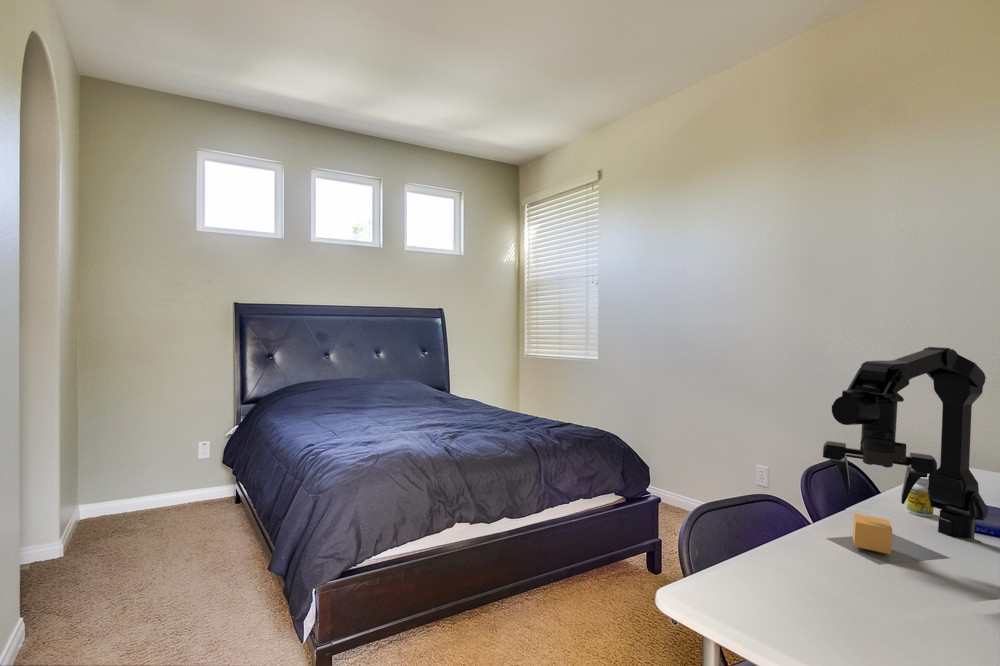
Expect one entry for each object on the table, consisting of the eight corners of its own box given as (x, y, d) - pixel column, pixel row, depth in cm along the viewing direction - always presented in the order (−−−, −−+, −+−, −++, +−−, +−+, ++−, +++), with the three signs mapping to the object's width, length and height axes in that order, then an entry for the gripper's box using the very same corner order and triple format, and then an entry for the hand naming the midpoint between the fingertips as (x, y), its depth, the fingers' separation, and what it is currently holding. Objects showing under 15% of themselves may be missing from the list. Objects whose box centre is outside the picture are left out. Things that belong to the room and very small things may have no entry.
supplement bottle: (936, 515, 135) (938, 478, 134) (927, 518, 132) (930, 480, 132) (911, 508, 139) (913, 472, 139) (902, 511, 136) (904, 474, 136)
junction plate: (891, 540, 117) (892, 533, 117) (949, 565, 105) (949, 557, 105) (825, 545, 112) (825, 538, 112) (878, 571, 101) (878, 564, 101)
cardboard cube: (852, 536, 112) (853, 513, 112) (887, 543, 109) (888, 519, 109) (854, 546, 107) (855, 522, 107) (890, 554, 104) (892, 529, 103)
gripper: (823, 422, 107) (819, 498, 107) (942, 436, 96) (937, 521, 96) (826, 415, 116) (822, 485, 116) (935, 427, 105) (931, 504, 106)
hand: (874, 498), depth 108 cm, fingers open, 9 cm apart
